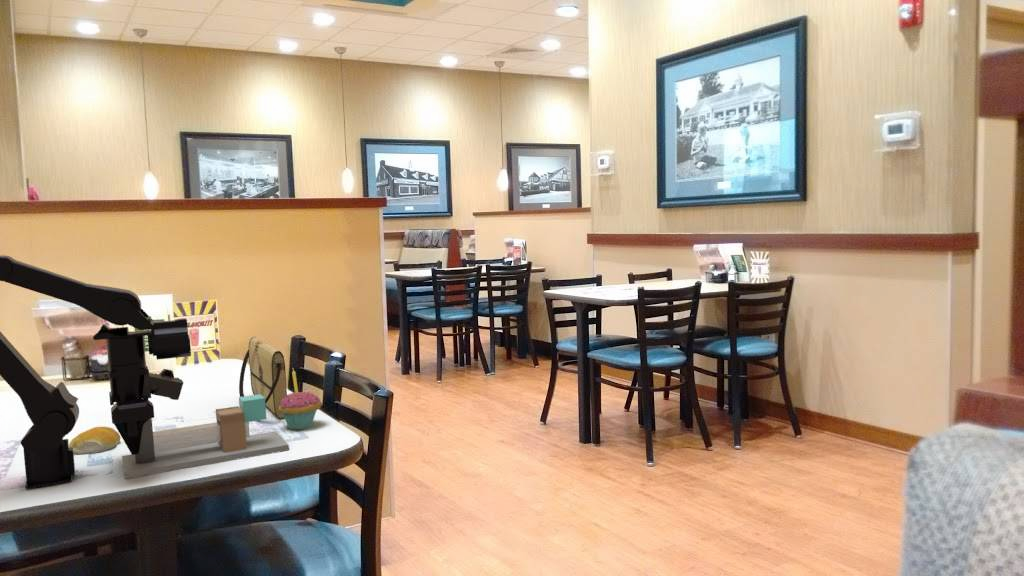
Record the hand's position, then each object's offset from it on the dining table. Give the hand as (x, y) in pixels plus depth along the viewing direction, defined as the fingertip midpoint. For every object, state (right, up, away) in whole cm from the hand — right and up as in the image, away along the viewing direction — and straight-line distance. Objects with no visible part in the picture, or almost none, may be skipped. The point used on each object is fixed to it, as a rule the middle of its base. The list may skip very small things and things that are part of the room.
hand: (134, 450), depth 131 cm
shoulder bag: (+8, 0, +40) cm, 41 cm away
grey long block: (+8, -1, +5) cm, 10 cm away
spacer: (+17, +4, +10) cm, 20 cm away
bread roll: (-14, -3, +14) cm, 20 cm away
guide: (+10, -2, +6) cm, 12 cm away
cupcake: (+22, 0, +24) cm, 33 cm away
